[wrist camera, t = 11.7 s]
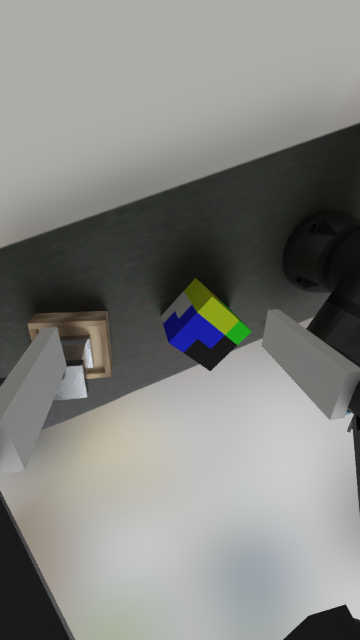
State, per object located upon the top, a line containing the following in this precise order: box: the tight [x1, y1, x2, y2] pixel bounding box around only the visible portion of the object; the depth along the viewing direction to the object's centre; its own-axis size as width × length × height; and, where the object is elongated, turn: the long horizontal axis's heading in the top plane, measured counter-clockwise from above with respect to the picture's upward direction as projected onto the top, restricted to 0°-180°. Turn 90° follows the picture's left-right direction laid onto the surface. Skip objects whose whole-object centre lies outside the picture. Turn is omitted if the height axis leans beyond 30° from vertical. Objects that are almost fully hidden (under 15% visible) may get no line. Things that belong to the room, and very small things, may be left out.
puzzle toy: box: [161, 278, 251, 371], centre depth 44 cm, size 10×10×10 cm
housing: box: [53, 335, 94, 401], centre depth 39 cm, size 6×6×10 cm
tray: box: [28, 311, 112, 379], centre depth 44 cm, size 12×12×4 cm
